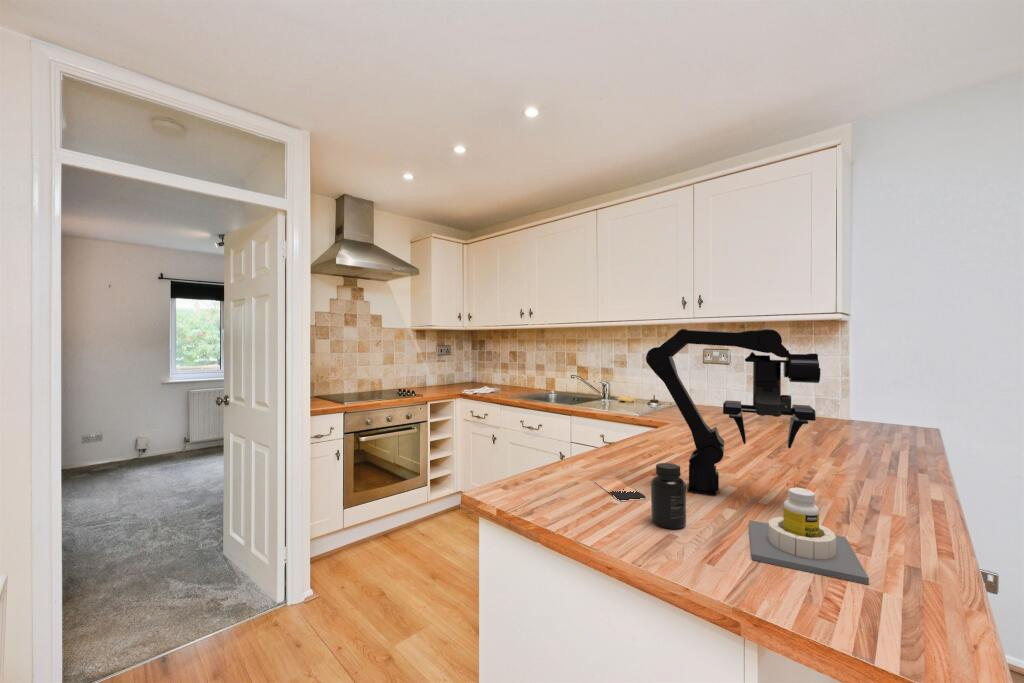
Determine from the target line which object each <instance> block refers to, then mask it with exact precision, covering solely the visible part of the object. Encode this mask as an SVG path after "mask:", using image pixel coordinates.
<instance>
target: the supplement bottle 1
mask: <svg viewBox="0 0 1024 683" xmlns="http://www.w3.org/2000/svg"><path fill="white" fill-rule="evenodd" d="M655 474H656V476H654V477H653V478H652V480H651V482H650V486H651V488H650V489H651V490H650V494H651V497H650V498H651V500H650V501H651V504H650V505H651V506H650V508H651V509H650V510H651V521H652V523H653V524H654V525H656V526H657V527H660V528H663V529H669V530H679V529H682V528H683V529H684V527H685V526H686V524H687V495H686V494H687V491H686V489H687V488H686V486H687V485H686V483H685V481H684V479H682V478H680V477H681V475H682V474H681V466H680V465H678V464H675V463H671V462H670V463H669V462H660V463H657V464H656V465H655Z"/></svg>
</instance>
